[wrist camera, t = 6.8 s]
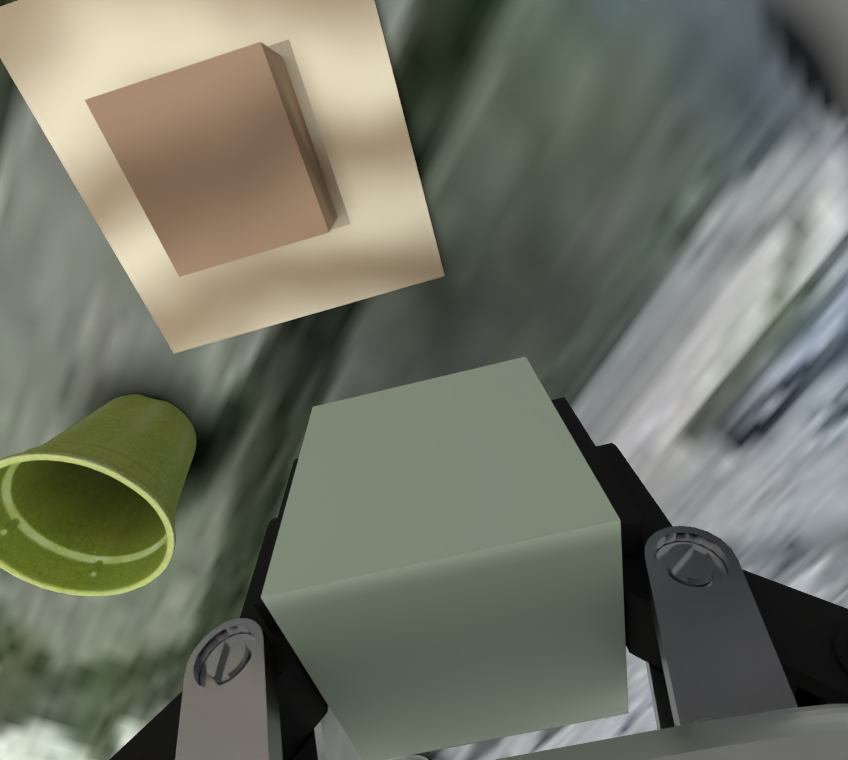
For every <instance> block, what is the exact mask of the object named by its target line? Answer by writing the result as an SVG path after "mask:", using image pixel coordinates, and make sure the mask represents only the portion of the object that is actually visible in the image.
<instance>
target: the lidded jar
mask: <svg viewBox="0 0 848 760" xmlns="http://www.w3.org/2000/svg"><path fill="white" fill-rule="evenodd" d="M387 760H429V759H428V758H426V757H424V756H421V755H417V754H413V755H408V756H403V757H398V758H392V759H387Z"/></svg>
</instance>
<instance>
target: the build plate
mask: <svg viewBox="0 0 848 760" xmlns="http://www.w3.org/2000/svg"><path fill="white" fill-rule="evenodd" d="M258 42H261V43H263V44H264V45H266V46H267V47H269V48H270V49H272V50H273V51H275V52H276V53H278V54H279V55H281V56H282V57H283V60H284V63H285V66H286V68H287V71H288V74H289V77H290V80H291V83H292V86H293V89H294V92H295V94H296V97H297V100H298V103H299V106H300V109H301V112H302V115H303V118H304V120H305V123H306V126H307V129H308V132H309V135H310V138H311V141H312V144H313V146H314V149H315V152H316V155H317V158H318V161H319V164H320V167H321V170H322V172H323V175H324V178H325V181H326V184H327V187H328V190H329V193H330V196H331V198H332V201H333V204H334V207H335V210H336V213H337V216H338V218H337V220H336V221H335V223H334V225H333V226H332V228H331V230H330V232H329V233H325V234H322V235H319V236H315V237H312V238H309V239H305V240H302V241H299V242H295V243H292V244H289V245H285V246H282V247H278V248H275V249H272V250H268V251H265V252H262V253H258V254H255V255H252V256H248V257H245V258H242V259H238V260H235V261H231V262H228V263H225V264H221V265H218V266H215V267H211V268H208V269H205V270H201V271H198V272H195V273H191V274H188V275H184V276H181V277H179V276H178V274H177V272H176V270H175V268H174V266H173V264H172V262H171V261H170V259H169V257H168V255H167V253H166V251H165V249H164V248H163V246H162V244H161V242H160V240H159V238H158V236H157V234H156V233H155V231H154V229H153V227H152V225H151V223H150V221H149V220H148V218H147V216H146V214H145V212H144V210H143V208H142V206H141V205H140V203H139V201H138V199H137V197H136V195H135V193H134V191H133V190H132V188H131V186H130V184H129V182H128V180H127V178H126V177H125V175H124V173H123V171H122V169H121V167H120V165H119V163H118V162H117V160H116V158H115V156H114V154H113V152H112V150H111V149H110V147H109V145H108V143H107V141H106V139H105V137H104V135H103V134H102V132H101V130H100V128H99V126H98V124H97V122H96V120H95V119H94V117H93V115H92V113H91V111H90V109H89V107H88V106H87V104H86V102H85V100H86V99H89V98H92V97H95V96H98V95H101V94H104V93H107V92H110V91H113V90H116V89H119V88H122V87H125V86H128V85H131V84H134V83H137V82H140V81H143V80H146V79H150V78H153V77H156V76H159V75H162V74H165V73H168V72H171V71H174V70H177V69H180V68H183V67H186V66H189V65H192V64H195V63H198V62H201V61H204V60H207V59H210V58H213V57H216V56H219V55H222V54H225V53H228V52H231V51H234V50H237V49H240V48H243V47H246V46H249V45H252V44H255V43H258ZM0 58H1V60H2V62H3V64H4V65H5V67H6V69H7V70H8V72H9V74H10V75H11V77H12V79H13V81H14V82H15V84H16V86H17V87H18V89H19V91H20V92H21V94H22V96H23V98H24V99H25V101H26V103H27V104H28V106H29V108H30V109H31V111H32V113H33V115H34V116H35V118H36V120H37V121H38V123H39V125H40V126H41V128H42V130H43V132H44V133H45V135H46V137H47V138H48V140H49V142H50V143H51V145H52V147H53V149H54V150H55V152H56V154H57V155H58V157H59V159H60V160H61V162H62V164H63V166H64V167H65V169H66V171H67V172H68V174H69V176H70V177H71V179H72V181H73V183H74V184H75V186H76V188H77V189H78V191H79V193H80V194H81V196H82V198H83V200H84V201H85V203H86V205H87V206H88V208H89V210H90V211H91V213H92V215H93V217H94V218H95V220H96V222H97V223H98V225H99V227H100V228H101V230H102V232H103V234H104V235H105V237H106V239H107V240H108V242H109V244H110V245H111V247H112V249H113V251H114V252H115V254H116V256H117V257H118V259H119V261H120V262H121V264H122V266H123V268H124V269H125V271H126V273H127V274H128V276H129V278H130V279H131V281H132V283H133V285H134V286H135V288H136V290H137V291H138V293H139V295H140V296H141V298H142V300H143V302H144V303H145V305H146V307H147V308H148V310H149V312H150V313H151V315H152V317H153V319H154V320H155V322H156V324H157V325H158V327H159V329H160V330H161V332H162V334H163V336H164V337H165V339H166V341H167V342H168V344H169V346H170V347H171V349H172V351H173V353H177V352H181V351H184V350H188V349H191V348H195V347H198V346H202V345H205V344H209V343H212V342H216V341H219V340H223V339H226V338H230V337H233V336H237V335H240V334H244V333H247V332H251V331H254V330H258V329H261V328H265V327H268V326H272V325H275V324H279V323H282V322H286V321H289V320H293V319H296V318H300V317H303V316H307V315H310V314H314V313H317V312H321V311H324V310H328V309H331V308H335V307H338V306H342V305H345V304H349V303H352V302H356V301H359V300H363V299H366V298H370V297H373V296H377V295H380V294H384V293H387V292H391V291H394V290H398V289H401V288H405V287H408V286H412V285H415V284H419V283H422V282H426V281H429V280H433V279H436V278H440V277H443V276H445V275H444V271H443V267H442V263H441V259H440V255H439V251H438V248H437V244H436V240H435V236H434V232H433V228H432V224H431V220H430V216H429V212H428V208H427V204H426V201H425V197H424V193H423V189H422V185H421V181H420V177H419V173H418V169H417V165H416V161H415V157H414V154H413V150H412V146H411V142H410V138H409V134H408V130H407V126H406V122H405V118H404V114H403V110H402V107H401V103H400V99H399V95H398V91H397V87H396V83H395V79H394V75H393V71H392V67H391V63H390V59H389V56H388V52H387V48H386V44H385V40H384V36H383V32H382V28H381V24H380V20H379V16H378V12H377V9H376V5H375V1H374V0H18V1H15V2H12V3H9V4H7V5H4V6H1V7H0Z"/></svg>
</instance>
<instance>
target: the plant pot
mask: <svg viewBox="0 0 848 760" xmlns="http://www.w3.org/2000/svg"><path fill="white" fill-rule="evenodd" d="M195 449H196V433H195V430H194V427H193V425H192V423H191V422H190V420H189V419H188V418H187V417H186V415H185V414H184V413H183V412H182V411H180V410H179V409H178V408H177V407H175V406H174V405H172V404H171V403H169V402H167V401H162V400H156V399H152V398H149V397H146V396H143V395H140V394H130V395H124V396H120V397H117V398H115V399H113V400H111V401H109V402H107V403H106V404H105V405H103V406H101V407H100V408H98V409H97V410H95V411H94V412H92V413H91V414H89V415H88V416H87V417H85V418H84V419H82V420H81V421H79V422H78V423H76V424H75V425H73V426H72V427H70V428H68V429H67V430H65V431H64V432H62V433H61V434H59V435H58V436H56V437H55V438H53V439H51V440H50V441H48V442H47V443H45V444H43V445H42V446H38V447H35V448H32V449H29V450H27V451H25V452H23V453H18V454H14V455H11V456H7V457H5V458H2V459H0V567H1V568H2V569H4V570H5V571H7V572H9V573H10V574H12V575H13V576H15V577H17V578H19V579H21V580H23V581H26V582H29V583H31V584H33V585H36V586H39V587H41V588H44V589H48V590H51V591H56V592H60V593H66V594H71V595H78V596H102V595H115V594H121V593H125V592H128V591H132V590H134V589H136V588H139V587H142V586H144V585H146V584H148V583H149V582H151V581H152V580H154V579H155V578H156V577H158V576H159V575H160V574H161V573H162V572H163V571H164V570H165V569H166V567H167V565H168V564H169V562H170V560H171V558H172V555H173V553H174V549H175V543H176V535H175V528H174V526H175V511H176V508H177V504H178V501H179V498H180V495H181V492H182V488H183V485H184V482H185V479H186V476H187V473H188V470H189V468H190V465H191V462H192V459H193V456H194V453H195Z"/></svg>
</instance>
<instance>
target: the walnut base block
mask: <svg viewBox="0 0 848 760" xmlns="http://www.w3.org/2000/svg"><path fill="white" fill-rule="evenodd" d="M85 102H86V104H87V106H88V107H89V109H90V111H91V113H92V115H93V117H94V119H95V120H96V122H97V124H98V126H99V128H100V130H101V132H102V134H103V135H104V137H105V139H106V141H107V143H108V145H109V147H110V149H111V150H112V152H113V154H114V156H115V158H116V160H117V162H118V163H119V165H120V167H121V169H122V171H123V173H124V175H125V177H126V178H127V180H128V182H129V184H130V186H131V188H132V190H133V191H134V193H135V195H136V197H137V199H138V201H139V203H140V205H141V206H142V208H143V210H144V212H145V214H146V216H147V218H148V220H149V221H150V223H151V225H152V227H153V229H154V231H155V233H156V234H157V236H158V238H159V240H160V242H161V244H162V246H163V248H164V249H165V251H166V253H167V255H168V257H169V259H170V261H171V262H172V264H173V266H174V268H175V270H176V272H177V274H178V276H179V277H181V276H184V275H188V274H191V273H195V272H198V271H201V270H205V269H208V268H211V267H215V266H218V265H221V264H225V263H228V262H231V261H235V260H238V259H242V258H245V257H248V256H252V255H255V254H258V253H262V252H265V251H268V250H272V249H275V248H278V247H282V246H285V245H289V244H292V243H295V242H299V241H302V240H305V239H309V238H312V237H315V236H319V235H322V234H325V233H329V232H330V230H331V228H332V226H333V225H334V223H335V221H336V220H337V218H338V216H337V213H336V210H335V207H334V204H333V201H332V198H331V196H330V193H329V190H328V187H327V184H326V181H325V178H324V175H323V172H322V170H321V167H320V164H319V161H318V158H317V155H316V152H315V149H314V146H313V144H312V141H311V138H310V135H309V132H308V129H307V126H306V123H305V120H304V118H303V115H302V112H301V109H300V106H299V103H298V100H297V97H296V94H295V92H294V89H293V86H292V83H291V80H290V77H289V74H288V71H287V68H286V66H285V63H284V60H283V57H282V56H281V55H279V54H278V53H276V52H275V51H273V50H272V49H270V48H269V47H267V46H266V45H264V44H263V43H261V42H258V43H255V44H252V45H249V46H246V47H243V48H240V49H237V50H234V51H231V52H228V53H225V54H222V55H219V56H216V57H213V58H210V59H207V60H204V61H201V62H198V63H195V64H192V65H189V66H186V67H183V68H180V69H177V70H174V71H171V72H168V73H165V74H162V75H159V76H156V77H153V78H150V79H146V80H143V81H140V82H137V83H134V84H131V85H128V86H125V87H122V88H119V89H116V90H113V91H110V92H107V93H104V94H101V95H98V96H95V97H92V98H89V99H86V100H85Z"/></svg>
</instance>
